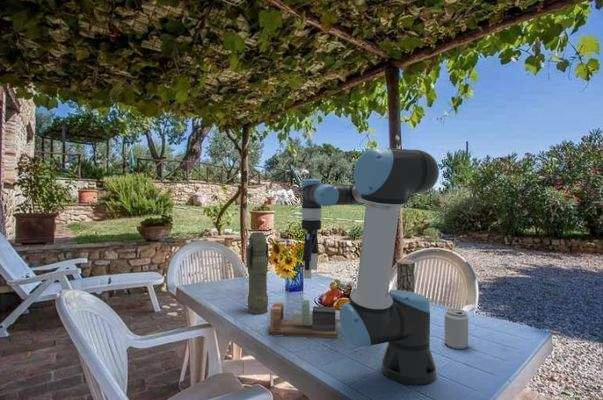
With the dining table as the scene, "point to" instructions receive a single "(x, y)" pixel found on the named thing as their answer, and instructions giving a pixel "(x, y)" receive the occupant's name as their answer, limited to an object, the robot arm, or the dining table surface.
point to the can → (456, 328)
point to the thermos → (257, 273)
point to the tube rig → (319, 327)
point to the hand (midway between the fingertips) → (310, 273)
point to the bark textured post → (405, 275)
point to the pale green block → (303, 313)
